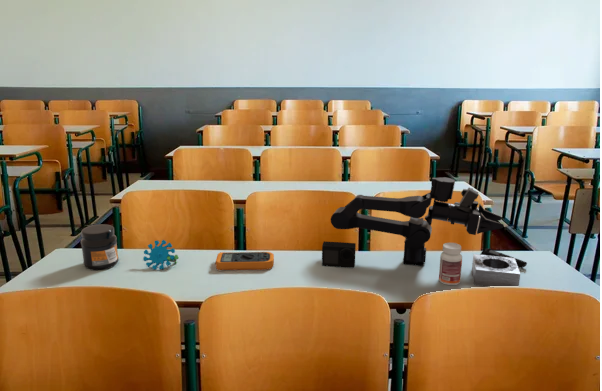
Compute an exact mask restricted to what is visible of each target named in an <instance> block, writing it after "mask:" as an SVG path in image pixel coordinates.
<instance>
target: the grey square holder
mask: <svg viewBox="0 0 602 391" xmlns="http://www.w3.org/2000/svg"><path fill="white" fill-rule="evenodd" d="M472 254H473V255H472V263H471V264H472V266H471V270H472V271H471V272H472V279H473V286H479V287H485V286H519V287H520V280H521V272H520V268H518V266H517V263H516V260H515V258H516V257H514V258H509V257H498V256H488V255H480V254H477V253H475V254H474V253H472Z"/></svg>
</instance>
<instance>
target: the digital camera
mask: <svg viewBox="0 0 602 391" xmlns="http://www.w3.org/2000/svg"><path fill="white" fill-rule="evenodd" d="M356 248H357V246H356V242H345V241H343V242H341V241H339V242H338V241H323V242H322V246H321V266H322V267H328V268H329V267H332V268H345V269H346V268H347V269H355V266H356V250H357V249H356Z"/></svg>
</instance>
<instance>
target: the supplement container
mask: <svg viewBox="0 0 602 391" xmlns="http://www.w3.org/2000/svg"><path fill="white" fill-rule="evenodd" d="M80 234H81V240H80V245H81V251H82V253H81V254H82V261H83V266H84V268H86V269H88V270H90V271H92V270H93V271H103V270H107V269H111V268H112V267H115V266H116V265H117V264H119V255H118V245H117V244H118V242H117V238H118V237H117V236H116V235H115V227H114V226H113V225H111V224H106V223H105V224H104V223H103V224H93V225H89V226H86V227H84V228H82V230H81V232H80Z"/></svg>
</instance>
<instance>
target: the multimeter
mask: <svg viewBox="0 0 602 391" xmlns="http://www.w3.org/2000/svg"><path fill="white" fill-rule="evenodd" d="M274 263H275V255H274V253H273V252H271V251H252V252H251V251H250V252H249V251H246V252H245V251H244V252H243V251H241V252H240V251H239V252H236V251H235V252H233V251H232V252H225V251H224V252H223V251H222V252H219V253H217V256H216V259H215V268H216V270H218V271H233V270H234V271H241V270H242V271H248V270H251V271H252V270H254V271H255V270H257V271H258V270H259V271H261V270H262V271H264V270H265V271H268V270H271V269H272V268H273V267H274V265H275V264H274Z"/></svg>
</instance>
